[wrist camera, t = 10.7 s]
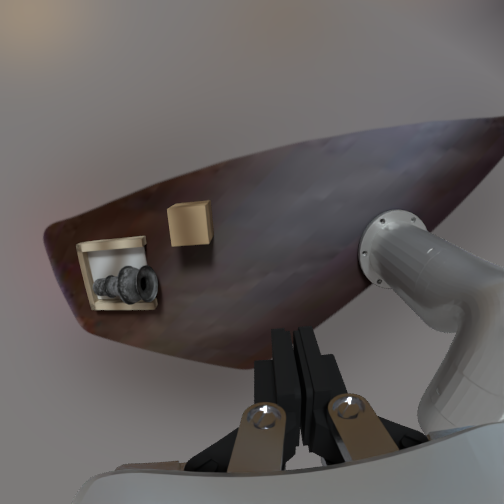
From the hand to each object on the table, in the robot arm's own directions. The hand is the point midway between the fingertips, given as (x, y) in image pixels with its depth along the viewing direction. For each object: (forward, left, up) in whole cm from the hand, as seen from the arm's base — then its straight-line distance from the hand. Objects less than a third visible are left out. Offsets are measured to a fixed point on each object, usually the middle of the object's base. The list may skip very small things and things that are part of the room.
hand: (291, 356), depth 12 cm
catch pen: (+24, +7, -32) cm, 41 cm away
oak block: (+10, -1, -32) cm, 34 cm away
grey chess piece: (+17, +7, -28) cm, 34 cm away
